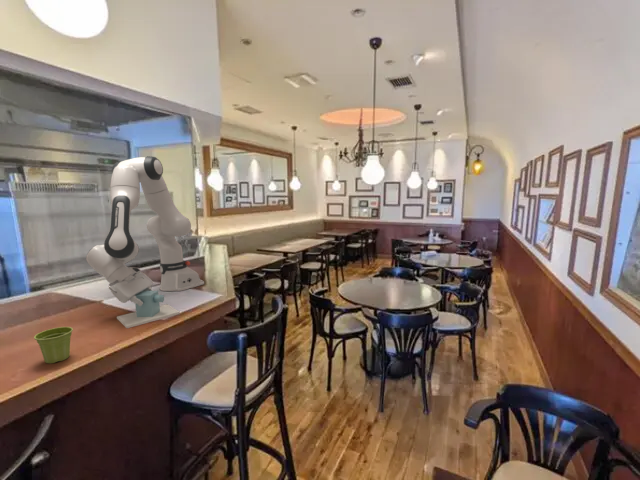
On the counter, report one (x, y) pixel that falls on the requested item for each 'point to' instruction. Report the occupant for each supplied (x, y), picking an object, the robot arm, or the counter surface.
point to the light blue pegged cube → (149, 303)
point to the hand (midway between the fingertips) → (148, 300)
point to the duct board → (133, 320)
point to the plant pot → (55, 343)
